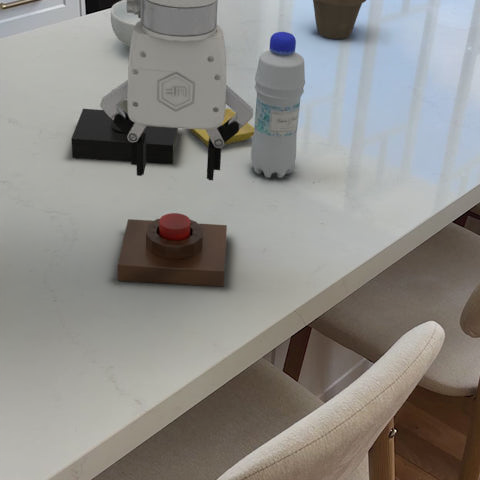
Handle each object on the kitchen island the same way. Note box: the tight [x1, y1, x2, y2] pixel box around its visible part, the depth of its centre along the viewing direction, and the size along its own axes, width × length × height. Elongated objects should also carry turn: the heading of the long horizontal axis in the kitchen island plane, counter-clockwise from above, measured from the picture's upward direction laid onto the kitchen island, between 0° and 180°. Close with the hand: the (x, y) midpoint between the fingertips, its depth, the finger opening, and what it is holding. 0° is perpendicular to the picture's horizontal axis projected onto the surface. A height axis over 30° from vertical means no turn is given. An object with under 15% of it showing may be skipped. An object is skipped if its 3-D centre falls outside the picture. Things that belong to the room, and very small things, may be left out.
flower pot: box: [312, 0, 367, 40], centre depth 172 cm, size 12×11×10 cm
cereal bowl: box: [110, 0, 140, 48], centre depth 159 cm, size 17×17×7 cm
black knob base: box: [70, 108, 179, 165], centre depth 128 cm, size 14×10×3 cm
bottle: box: [250, 31, 306, 179], centre depth 120 cm, size 7×7×20 cm
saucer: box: [188, 108, 255, 147], centre depth 133 cm, size 9×9×2 cm
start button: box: [159, 212, 191, 241], centre depth 103 cm, size 4×4×2 cm
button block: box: [117, 218, 228, 287], centre depth 104 cm, size 12×10×4 cm
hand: (176, 171), depth 98 cm, fingers open, 7 cm apart
